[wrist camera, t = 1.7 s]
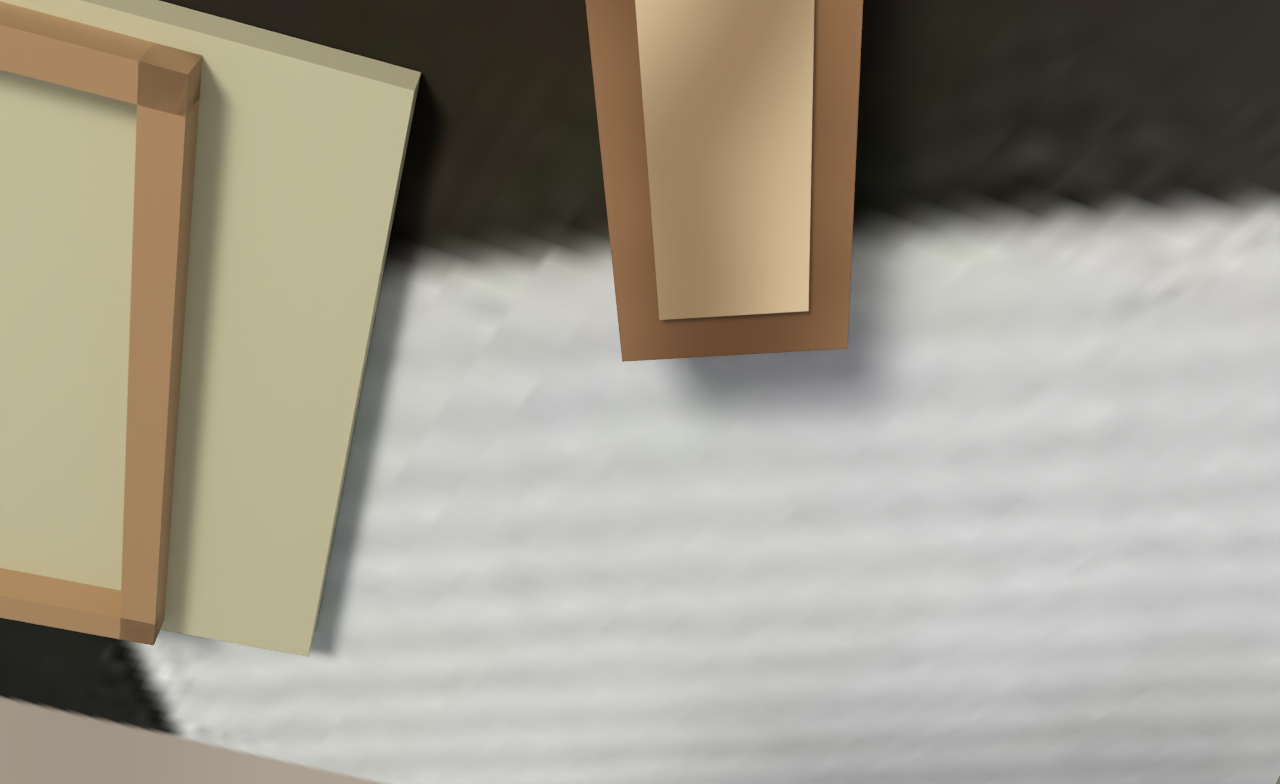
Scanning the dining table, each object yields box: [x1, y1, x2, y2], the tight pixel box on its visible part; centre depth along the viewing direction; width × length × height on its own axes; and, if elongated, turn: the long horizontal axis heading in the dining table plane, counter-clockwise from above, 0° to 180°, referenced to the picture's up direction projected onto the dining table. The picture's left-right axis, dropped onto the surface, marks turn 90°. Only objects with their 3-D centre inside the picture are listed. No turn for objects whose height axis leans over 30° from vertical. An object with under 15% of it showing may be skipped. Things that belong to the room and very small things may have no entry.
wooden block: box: [585, 0, 863, 361], centre depth 24 cm, size 5×12×5 cm, turn 4°
